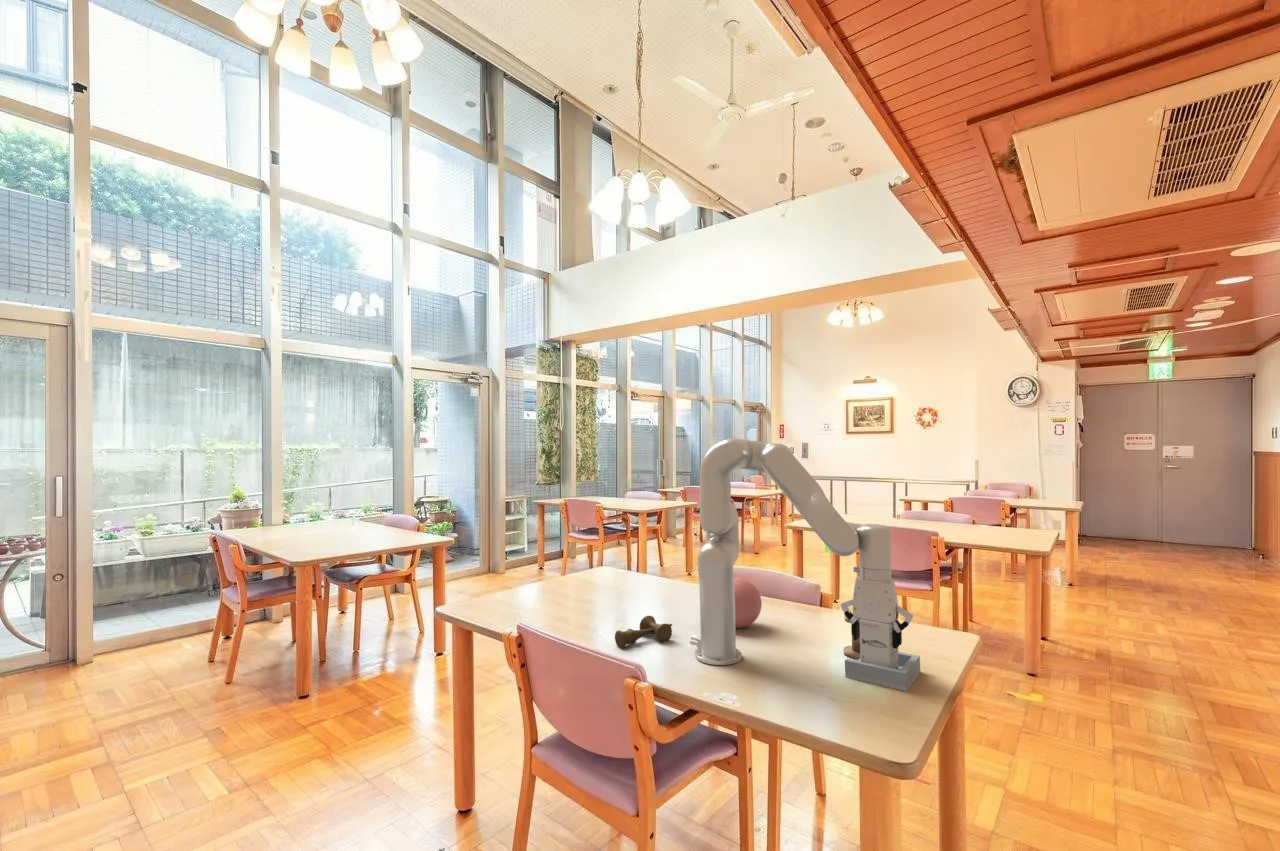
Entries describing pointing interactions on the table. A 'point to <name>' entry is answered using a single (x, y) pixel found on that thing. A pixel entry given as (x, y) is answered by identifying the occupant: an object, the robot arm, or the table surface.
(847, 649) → the doorknob
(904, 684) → the square tray
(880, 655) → the supplement box
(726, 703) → the table surface
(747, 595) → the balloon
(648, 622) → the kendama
